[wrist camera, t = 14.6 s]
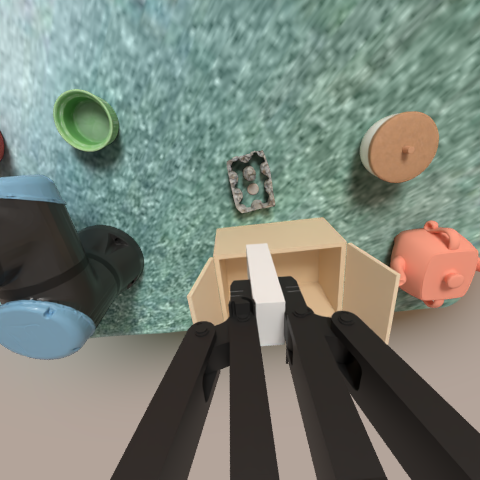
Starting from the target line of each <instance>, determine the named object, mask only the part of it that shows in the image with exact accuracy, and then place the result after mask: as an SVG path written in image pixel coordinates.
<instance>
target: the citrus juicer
mask: <svg viewBox="0 0 480 480" xmlns="http://www.w3.org/2000/svg"><path fill="white" fill-rule="evenodd" d="M3 154H4V142H3V138H2V135H1V132H0V161H1V160H2V157H3Z"/></svg>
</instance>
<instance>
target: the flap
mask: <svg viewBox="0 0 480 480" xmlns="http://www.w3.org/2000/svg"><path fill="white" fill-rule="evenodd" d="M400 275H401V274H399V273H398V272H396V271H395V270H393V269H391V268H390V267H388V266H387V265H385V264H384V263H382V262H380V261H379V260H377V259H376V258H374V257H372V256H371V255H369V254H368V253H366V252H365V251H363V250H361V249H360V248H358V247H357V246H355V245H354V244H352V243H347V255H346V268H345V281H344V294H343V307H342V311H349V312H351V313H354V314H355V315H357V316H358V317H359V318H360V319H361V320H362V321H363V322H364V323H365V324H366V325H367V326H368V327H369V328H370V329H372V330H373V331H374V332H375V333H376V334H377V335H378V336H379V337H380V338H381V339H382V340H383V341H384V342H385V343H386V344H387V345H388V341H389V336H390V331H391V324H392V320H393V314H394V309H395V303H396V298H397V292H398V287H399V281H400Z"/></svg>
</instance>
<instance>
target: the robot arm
mask: <svg viewBox="0 0 480 480" xmlns="http://www.w3.org/2000/svg"><path fill="white" fill-rule="evenodd" d="M65 205H67V204H66V202H65V201H64V200H63V199H62V197H61V195H60V193H59V191H58V189H57V187H56V185H55V183H54V182H53V181H52V180H51V179H50V178H48V177H46V176H44V175H39V174H35V175H22V176H11V177H0V302H1V304H2V305H0V344H1V345H3V346H4V347H6V348H7V349H9V350H11V351H13V352H15V353H17V354H20V355H24V356H27V357H30V358H35V359H44V360H46V359H47V360H48V359H49V360H51V359H60V358H64V357H67V356H69V355H72V354H74V353H75V352H77V351H78V350H79V349H80V348H81V347H82V346H83V345H84V344H85V342H86V341H87V339H88V338H89V337H91V336H92V334H93V333H94V332H95V329H96V328H97V326H98V325H99V323H100V321H101V320H102V318H103V317H104V315H105V313H106V312H107V310H108V309H109V307H110V305H111V304H112V302H113V301H114V299H115V297H116V296H117V295H119V294H120V293H122V292H123V291H125V290H127V289H128V288H130V287H131V286H132V285H133V284H134V283H135V282H136V281H137V279H138V278H139V276H140V274H141V272H142V270H143V265H144V259H143V254H142V251H141V249H140V247H139V246H138V244H137V243H136V242H135V240H134V239H133V238H132V237H130V236H129V235H128V234H127V233H125V232H123V231H122V230H120V229H117V228H114V227H111V226H106V225H95V226H90V227H87V228H85V229H83V230H81V231H80V232H78V233H77V231H76V229H75V227H74V225H73V222H72V220H71V218H70V215H69V213H68V211H67V208H66V206H65ZM246 256H247V275H248V280H234V281H233V282H232V284H231V285H230V301H229V304H228V307H229V318H228V319H227V320H226V321H224V322H223V323H221V324H218V325H215V326H214V324H212V323H211V322H208V321H200V322H197V323H195V324H193V325H192V326H191V327H190V328H189V329H188V331H187V333H186V335H185V337H184V339H183V341H182V343H181V345H180V346H179V349H178V350H177V352H176V354H175V356H174V358H173V360H172V362H171V364H170V366H169V368H168V370H167V372H166V373H165V375H164V377H163V379H162V381H161V383H160V385H159V387H158V389H157V391H156V393H155V394H154V397H153V398H152V400H151V402H150V404H149V406H148V408H147V410H146V412H145V414H144V416H143V418H142V419H141V421H140V423H139V425H138V427H137V429H136V431H135V433H134V435H133V437H132V439H131V441H130V443H129V444H128V447H127V448H126V450H125V452H124V454H123V456H122V458H121V460H120V462H119V464H118V466H117V468H116V470H115V471H114V473H113V475H112V477H111V479H110V480H187V478H188V475H189V472H190V468H191V465H192V462H193V459H194V456H195V452H196V449H197V446H198V443H199V439H200V436H201V433H202V430H203V426H204V423H205V419H206V417H207V413H208V410H209V407H210V404H211V400H212V397H213V394H214V390H215V387H216V384H217V381H218V378H219V374H220V369H223V368H225V367H228V366H230V480H279V473H278V467H277V459H276V453H275V445H274V438H273V431H272V424H271V417H270V410H269V403H268V396H267V389H266V382H265V375H264V368H263V361H262V354H261V346H269V345H284V343H285V341H286V348H287V349H286V364H288V362H289V366H290V370H291V374H292V378H293V382H294V386H295V391H296V394H297V399H298V403H299V407H300V411H301V415H302V419H303V423H304V428H305V431H306V436H307V440H308V444H309V448H310V452H311V457H312V461H313V465H314V468H315V473H316V477H317V480H388V479H387V477H386V475H385V473H384V471H383V468H382V466H381V464H380V462H379V459H378V457H377V455H376V452H375V450H374V448H373V446H372V443H371V441H370V439H369V436H368V434H367V432H366V430H365V427H364V425H363V423H362V420H361V418H360V416H359V414H358V411H357V409H356V407H355V405H354V402H353V400H352V398H351V395H352V397H353V398H354V400H355V401H356V403H357V404H358V405H359V406H360V408H361V410H362V411H363V412H364V414H365V415H366V417H367V418H368V419H369V421H370V422H371V424H372V425H373V426H374V428H375V429H376V431H377V432H378V433H379V435H380V436H381V438H382V439H383V441H384V442H385V443H386V445H387V446H388V447H389V449H390V450H391V452H392V453H393V455H394V456H395V457H396V459H397V460H398V462H399V463H400V464H401V466H402V467H403V469H404V470H405V471H406V473H407V474H408V476H409V477H410V478H411V480H480V433H479V432H478V431H477V430H476V429H474V428H473V427H472V426H471V425H470V424H469V423H468V422H467V421H466V420H465V419H464V418H463V417H462V416H461V415H460V414H459V413H458V412H457V411H456V410H455V409H454V408H453V407H452V406H450V405H449V404H448V403H447V402H446V401H445V400H444V399H443V398H442V397H441V396H440V395H439V394H438V393H437V392H436V391H435V390H434V389H433V388H432V387H431V386H430V385H429V384H428V383H427V382H426V381H425V380H424V379H422V378H421V377H420V376H419V375H418V374H417V373H416V372H415V371H414V370H413V369H412V368H411V367H410V366H409V365H408V364H407V363H406V362H405V361H404V360H402V358H401V357H399V356H398V355H397V354H396V353H395V352H394V351H393V350H392V349H391V348H390V347H389V346H388V345H387V344H386V343H385V342H384V341H383V340H382V339H381V338H380V337H379V336H378V335H377V334H376V333H375V332H374V331H373V330H372V329H370V328H369V327H368V326H367V325H366V324H365V323H364V322H363V321H362V320H361V319H360V318H359V317H358V316H357V315H355V314H354V313H351V312H349V311H337V312H335V313H333V315H332V316H331V317H325V316H320V315H317V314H315V313H314V312H313V310H312V309H311V308H309V307H308V306H307V305H306V302H305V300H304V297H303V295H302V293H301V291H300V288H299V286H298V283H297V281H296V280H295V279H294V278H293V277H292V276H284V277H277V273H276V270H275V267H274V264H273V261H272V257H271V254H270V251H269V248H268V244H267V243H263V244H248V245H246ZM350 394H351V395H350Z"/></svg>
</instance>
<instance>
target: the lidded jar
mask: <svg viewBox="0 0 480 480" xmlns="http://www.w3.org/2000/svg"><path fill="white" fill-rule="evenodd" d="M438 142H439V134H438V129H437V127H436V124H435V123H434V121H433V120H432V119H431V118H430V117H429V116H427V115H426V114H424V113H421V112H404V113H398V114H393V115H390V116H387V117H385V118H383V119H381V120H379V121H377V122H376V123H375V124H373V125H372V126H371V127H370V128H369V130H368V131H367V132H366V134H365V135H364V137H363V139H362V142H361V145H360V158H361V161H362V163H363V165H364V167H365V168H366V169H367V170H368V171H369V172H370V173H371V174H373V175H374V176H376V177H378V178H380V179H382V180H384V181H387V182H391V183H401V182H405V181H408V180H411V179H413V178H415V177H416V176H418V175H419V174H420V173H422V172H423V171H424V170H425V169H426V168H427V167H428V165H429V164H430V163H431V161H432V160H433V158H434V156H435V154H436V151H437V148H438Z"/></svg>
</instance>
